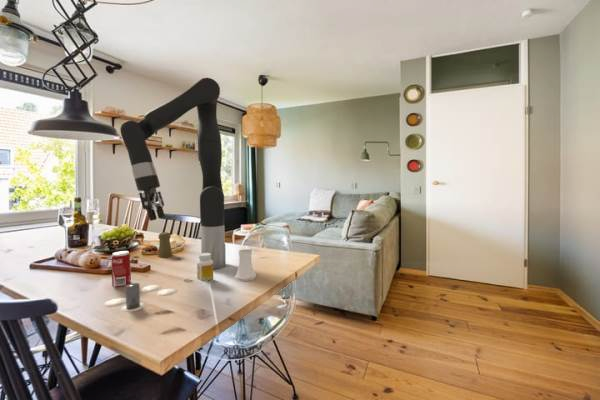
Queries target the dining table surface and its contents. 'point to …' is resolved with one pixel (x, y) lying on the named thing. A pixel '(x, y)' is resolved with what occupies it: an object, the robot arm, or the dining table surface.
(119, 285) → the soda can
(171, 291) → the white oval discs
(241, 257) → the salt shaker
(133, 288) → the pin
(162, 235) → the olive green pepper shaker
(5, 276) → the dining table surface
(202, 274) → the supplement bottle
